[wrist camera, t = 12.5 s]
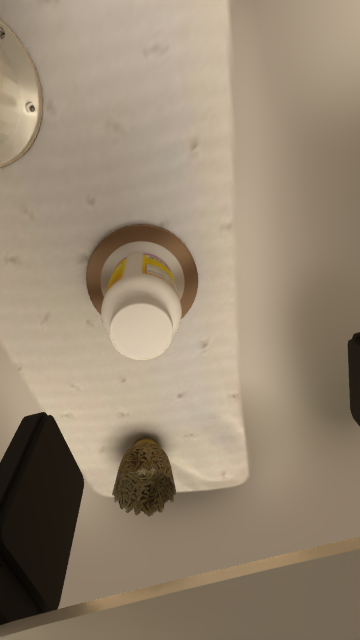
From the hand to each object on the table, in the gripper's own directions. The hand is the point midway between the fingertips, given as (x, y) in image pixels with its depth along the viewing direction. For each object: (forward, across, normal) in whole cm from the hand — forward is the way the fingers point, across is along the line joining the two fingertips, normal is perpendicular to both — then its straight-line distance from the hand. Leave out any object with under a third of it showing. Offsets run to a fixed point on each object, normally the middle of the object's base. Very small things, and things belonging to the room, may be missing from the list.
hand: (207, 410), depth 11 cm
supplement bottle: (+27, +4, +3) cm, 28 cm away
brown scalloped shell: (+29, +10, +27) cm, 40 cm away
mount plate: (+29, +4, +4) cm, 29 cm away
